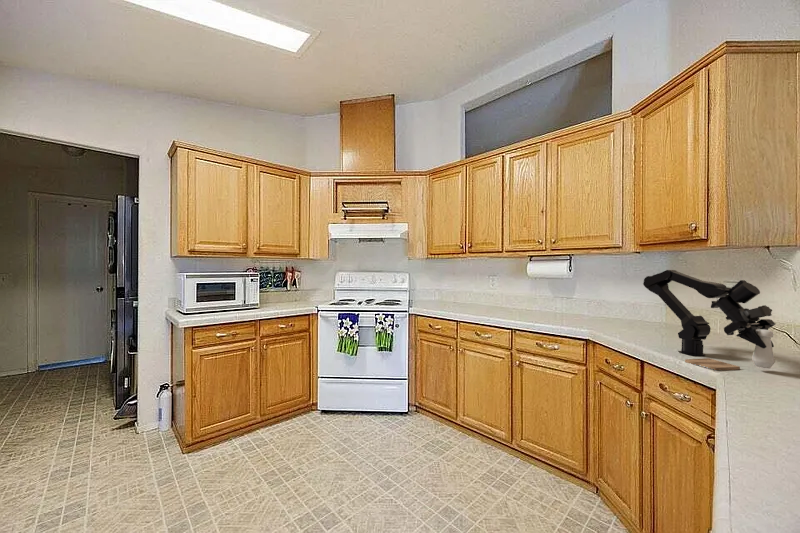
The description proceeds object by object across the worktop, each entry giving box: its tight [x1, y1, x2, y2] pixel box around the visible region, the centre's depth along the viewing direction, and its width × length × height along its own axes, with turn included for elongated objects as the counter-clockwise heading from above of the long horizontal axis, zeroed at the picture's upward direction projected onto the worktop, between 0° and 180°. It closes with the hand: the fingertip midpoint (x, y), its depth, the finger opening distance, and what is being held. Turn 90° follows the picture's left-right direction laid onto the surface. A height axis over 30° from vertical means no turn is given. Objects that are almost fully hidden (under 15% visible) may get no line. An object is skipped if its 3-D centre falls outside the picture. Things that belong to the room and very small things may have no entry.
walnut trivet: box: [684, 357, 741, 371], centre depth 137 cm, size 11×11×1 cm
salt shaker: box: [751, 329, 776, 369], centre depth 130 cm, size 6×6×13 cm
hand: (768, 347), depth 129 cm, fingers closed on salt shaker, 3 cm apart
